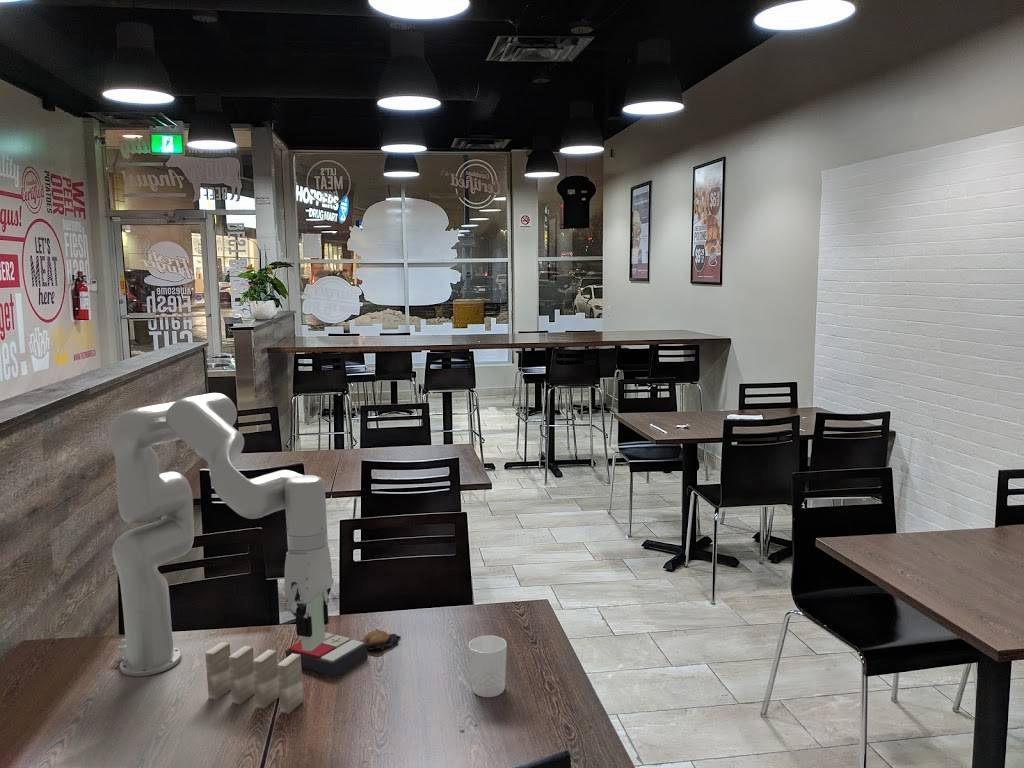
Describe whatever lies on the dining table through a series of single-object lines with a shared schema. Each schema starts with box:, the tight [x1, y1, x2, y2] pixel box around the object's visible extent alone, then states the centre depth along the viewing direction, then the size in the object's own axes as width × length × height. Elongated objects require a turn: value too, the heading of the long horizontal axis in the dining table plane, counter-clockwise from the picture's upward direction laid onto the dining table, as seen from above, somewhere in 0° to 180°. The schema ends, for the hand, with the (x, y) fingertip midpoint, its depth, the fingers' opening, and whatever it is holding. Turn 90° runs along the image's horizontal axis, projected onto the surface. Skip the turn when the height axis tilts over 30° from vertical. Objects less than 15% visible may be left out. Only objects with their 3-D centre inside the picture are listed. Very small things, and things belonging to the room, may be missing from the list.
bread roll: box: [359, 629, 402, 658], centre depth 183 cm, size 11×8×4 cm
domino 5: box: [300, 594, 326, 651], centre depth 152 cm, size 2×5×10 cm, turn 161°
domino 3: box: [253, 649, 279, 710], centre depth 158 cm, size 2×5×10 cm, turn 161°
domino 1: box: [205, 641, 232, 701], centre depth 162 cm, size 2×5×10 cm, turn 161°
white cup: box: [468, 635, 508, 698], centre depth 161 cm, size 8×8×10 cm
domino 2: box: [229, 645, 255, 705], centre depth 160 cm, size 2×5×10 cm, turn 161°
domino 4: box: [277, 653, 304, 715], centre depth 156 cm, size 2×5×10 cm, turn 161°
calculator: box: [285, 631, 369, 679], centre depth 176 cm, size 11×4×15 cm
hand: (312, 628), depth 152 cm, fingers closed on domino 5, 4 cm apart
